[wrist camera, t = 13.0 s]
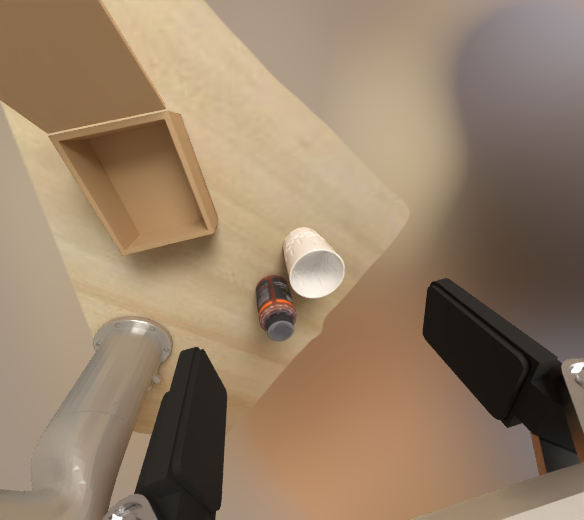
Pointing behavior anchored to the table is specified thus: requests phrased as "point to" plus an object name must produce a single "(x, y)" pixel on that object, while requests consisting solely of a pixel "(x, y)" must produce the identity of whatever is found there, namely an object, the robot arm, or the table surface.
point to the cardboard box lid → (69, 65)
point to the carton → (141, 180)
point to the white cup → (312, 264)
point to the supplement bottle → (275, 308)
